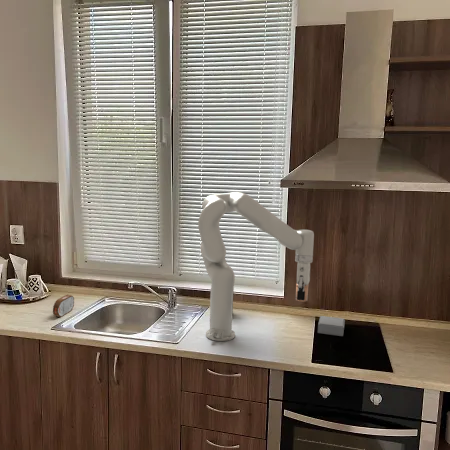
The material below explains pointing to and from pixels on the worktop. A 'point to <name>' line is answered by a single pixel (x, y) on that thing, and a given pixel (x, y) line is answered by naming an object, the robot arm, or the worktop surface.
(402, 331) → the worktop surface
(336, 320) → the pedestal
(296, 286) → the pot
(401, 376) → the worktop surface
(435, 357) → the worktop surface
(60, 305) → the tin
